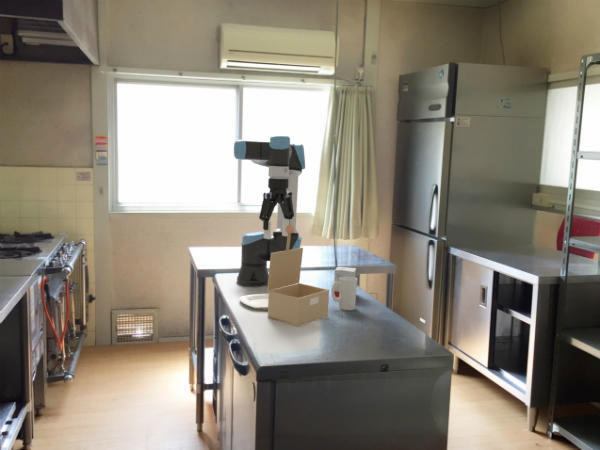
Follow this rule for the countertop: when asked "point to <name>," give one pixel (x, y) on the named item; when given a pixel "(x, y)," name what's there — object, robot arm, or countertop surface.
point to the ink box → (342, 273)
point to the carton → (298, 304)
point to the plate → (256, 300)
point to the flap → (285, 265)
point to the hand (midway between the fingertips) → (276, 237)
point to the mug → (346, 293)
